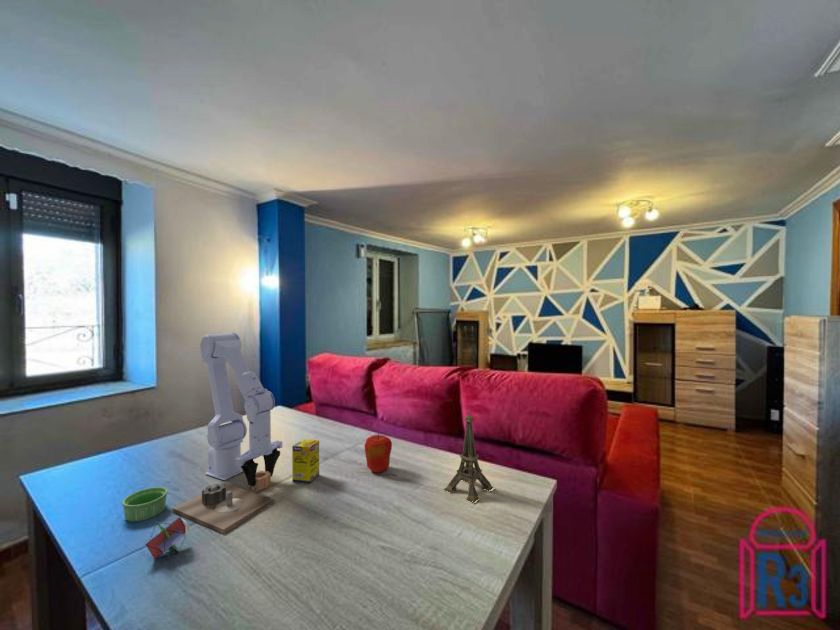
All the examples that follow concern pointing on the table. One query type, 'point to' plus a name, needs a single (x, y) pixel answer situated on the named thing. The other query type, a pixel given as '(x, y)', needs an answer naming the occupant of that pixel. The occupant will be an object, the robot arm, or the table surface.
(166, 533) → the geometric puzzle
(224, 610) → the table surface
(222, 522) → the gear board
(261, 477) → the gear
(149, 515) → the ramekin
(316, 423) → the table surface
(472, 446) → the eiffel tower
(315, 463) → the supplement box
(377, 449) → the apple
